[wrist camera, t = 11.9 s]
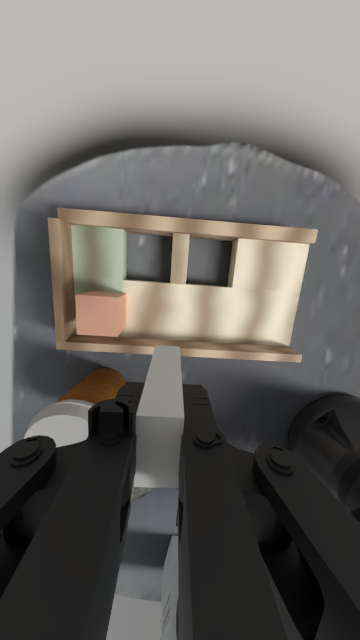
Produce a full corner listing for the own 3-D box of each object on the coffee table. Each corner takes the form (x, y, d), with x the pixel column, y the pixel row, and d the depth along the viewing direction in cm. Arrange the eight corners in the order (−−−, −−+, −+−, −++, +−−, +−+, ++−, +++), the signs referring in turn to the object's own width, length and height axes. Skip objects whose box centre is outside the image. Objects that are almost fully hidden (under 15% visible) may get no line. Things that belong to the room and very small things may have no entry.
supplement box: (218, 539, 40) (250, 724, 24) (208, 572, 42) (230, 763, 26) (170, 534, 39) (168, 721, 23) (161, 567, 41) (154, 762, 25)
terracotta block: (126, 293, 26) (117, 297, 22) (125, 326, 27) (117, 336, 23) (91, 290, 26) (75, 294, 22) (92, 324, 27) (76, 334, 23)
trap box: (300, 234, 28) (330, 225, 22) (278, 346, 31) (300, 362, 26) (72, 215, 26) (46, 201, 21) (77, 335, 30) (56, 349, 24)
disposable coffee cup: (75, 354, 30) (14, 405, 19) (139, 361, 31) (119, 415, 19) (73, 409, 33) (18, 487, 21) (134, 415, 33) (112, 494, 22)
